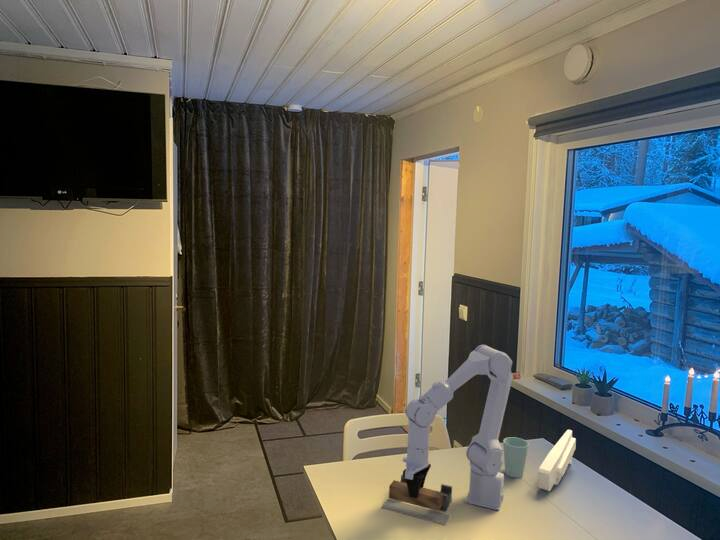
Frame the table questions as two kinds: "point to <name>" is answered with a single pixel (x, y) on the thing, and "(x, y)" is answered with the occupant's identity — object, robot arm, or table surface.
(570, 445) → the shelf bracket
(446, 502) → the post
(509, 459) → the cup
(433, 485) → the table surface
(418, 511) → the mat
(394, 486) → the rail
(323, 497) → the table surface
